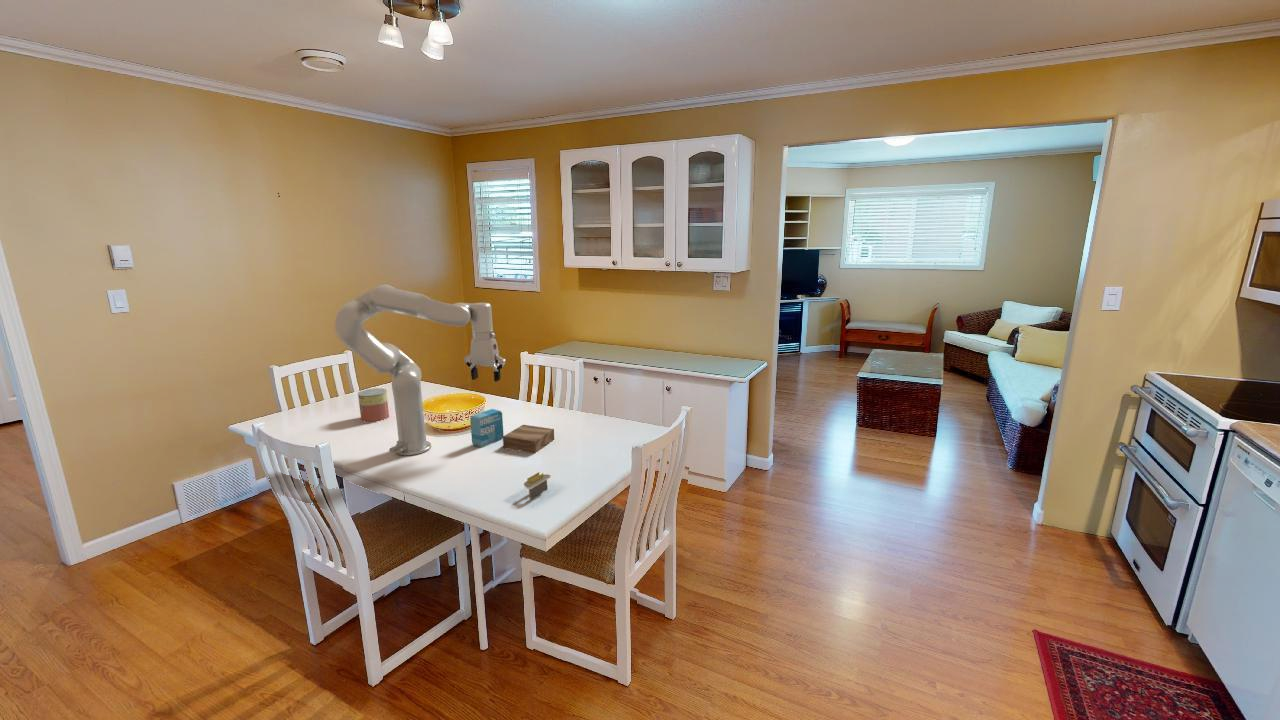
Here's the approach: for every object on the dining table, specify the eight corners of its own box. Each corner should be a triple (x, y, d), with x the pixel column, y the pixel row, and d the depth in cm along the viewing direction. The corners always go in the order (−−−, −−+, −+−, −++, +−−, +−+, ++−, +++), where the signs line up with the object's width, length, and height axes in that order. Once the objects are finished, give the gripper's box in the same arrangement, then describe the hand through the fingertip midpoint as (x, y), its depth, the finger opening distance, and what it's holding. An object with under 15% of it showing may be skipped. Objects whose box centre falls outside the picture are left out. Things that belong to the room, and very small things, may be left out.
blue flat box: (479, 448, 208) (477, 418, 206) (471, 445, 211) (469, 416, 208) (504, 438, 218) (502, 409, 215) (496, 436, 220) (494, 407, 218)
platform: (502, 502, 168) (501, 482, 167) (540, 479, 183) (539, 461, 182) (532, 512, 162) (531, 491, 161) (569, 487, 178) (568, 469, 176)
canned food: (361, 416, 244) (358, 390, 241) (389, 412, 249) (386, 387, 246) (360, 424, 234) (357, 397, 231) (389, 420, 239) (386, 393, 236)
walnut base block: (535, 454, 204) (535, 441, 203) (503, 448, 209) (502, 436, 208) (554, 441, 217) (553, 429, 216) (523, 436, 221) (523, 424, 220)
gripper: (508, 335, 207) (511, 379, 211) (468, 332, 212) (472, 375, 216) (498, 339, 200) (501, 384, 204) (457, 336, 205) (460, 380, 209)
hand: (486, 379), depth 210 cm, fingers open, 9 cm apart
